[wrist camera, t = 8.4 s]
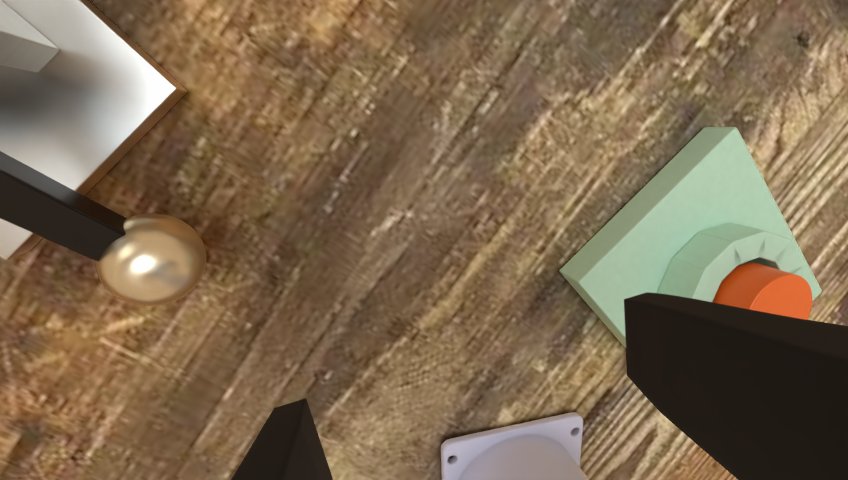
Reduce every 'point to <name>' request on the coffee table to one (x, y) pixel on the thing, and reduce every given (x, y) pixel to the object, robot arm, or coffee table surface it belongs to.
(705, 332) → the robot arm
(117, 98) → the bracket
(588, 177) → the coffee table surface
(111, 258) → the lever
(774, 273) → the button
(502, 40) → the coffee table surface
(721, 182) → the block
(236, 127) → the coffee table surface
